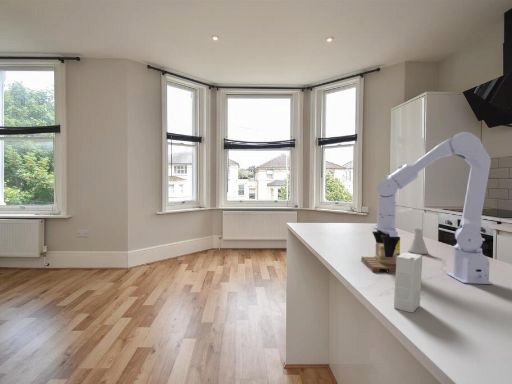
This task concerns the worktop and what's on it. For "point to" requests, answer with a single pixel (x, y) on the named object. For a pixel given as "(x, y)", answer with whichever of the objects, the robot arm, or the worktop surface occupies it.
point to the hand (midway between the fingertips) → (385, 254)
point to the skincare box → (408, 282)
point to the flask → (418, 243)
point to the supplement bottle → (398, 247)
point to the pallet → (378, 265)
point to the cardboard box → (381, 255)
